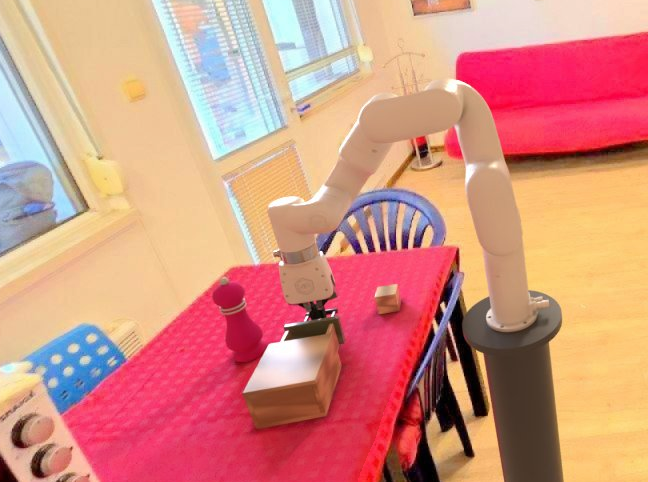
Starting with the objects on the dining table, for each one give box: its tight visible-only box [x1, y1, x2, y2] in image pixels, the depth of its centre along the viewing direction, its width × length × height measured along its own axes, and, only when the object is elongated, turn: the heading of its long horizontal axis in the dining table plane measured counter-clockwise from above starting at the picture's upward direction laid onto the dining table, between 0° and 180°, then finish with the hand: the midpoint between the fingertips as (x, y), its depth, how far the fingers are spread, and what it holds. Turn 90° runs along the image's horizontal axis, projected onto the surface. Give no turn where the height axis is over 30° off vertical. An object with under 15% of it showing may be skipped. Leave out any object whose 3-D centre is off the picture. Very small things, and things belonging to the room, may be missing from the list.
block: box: [374, 283, 402, 315], centre depth 132 cm, size 5×5×5 cm
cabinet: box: [242, 333, 343, 430], centre depth 103 cm, size 15×13×9 cm
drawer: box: [279, 307, 346, 351], centre depth 114 cm, size 21×11×7 cm, turn 11°
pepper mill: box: [211, 276, 266, 363], centre depth 116 cm, size 7×7×20 cm
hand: (320, 322), depth 121 cm, fingers closed
